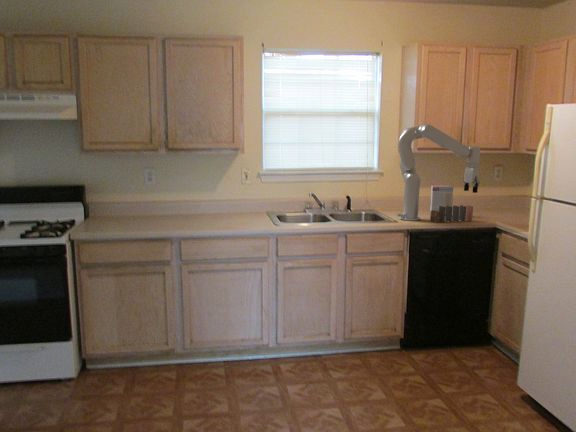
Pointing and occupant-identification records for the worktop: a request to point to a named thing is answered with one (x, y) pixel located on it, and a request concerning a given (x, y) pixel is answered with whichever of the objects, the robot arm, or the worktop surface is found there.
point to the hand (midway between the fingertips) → (470, 191)
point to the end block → (434, 216)
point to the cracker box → (441, 197)
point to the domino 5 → (469, 212)
